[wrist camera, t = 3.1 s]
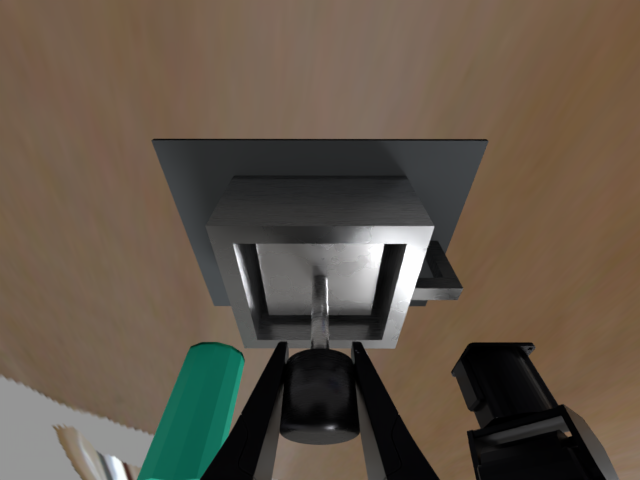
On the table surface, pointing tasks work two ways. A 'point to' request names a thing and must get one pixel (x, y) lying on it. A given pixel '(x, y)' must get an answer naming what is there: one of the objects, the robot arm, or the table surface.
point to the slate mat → (315, 160)
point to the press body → (327, 228)
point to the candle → (196, 414)
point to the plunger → (319, 332)
